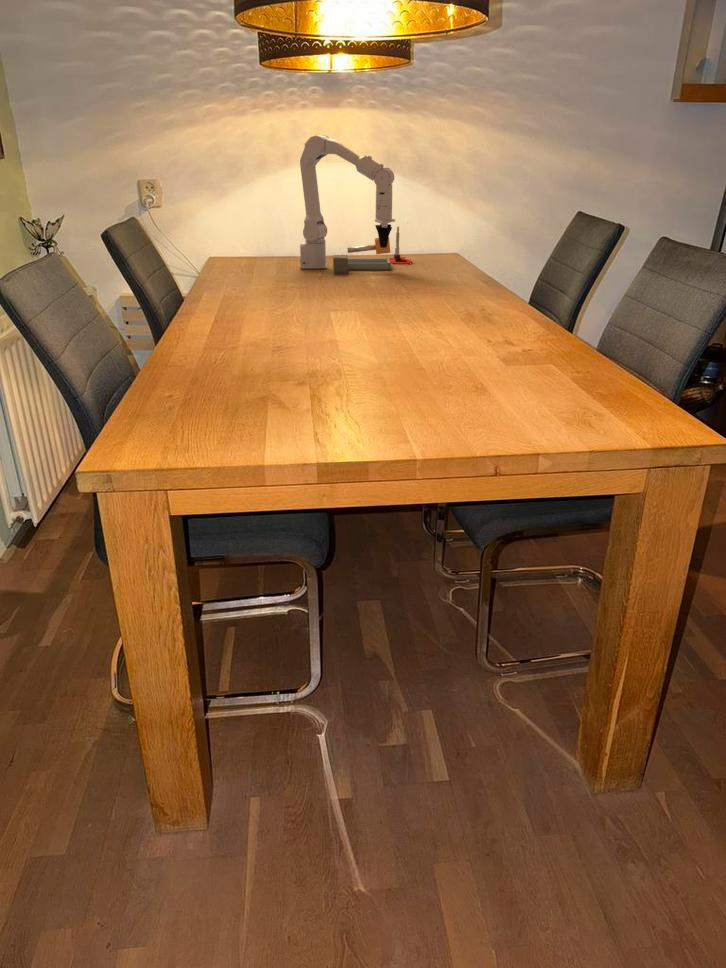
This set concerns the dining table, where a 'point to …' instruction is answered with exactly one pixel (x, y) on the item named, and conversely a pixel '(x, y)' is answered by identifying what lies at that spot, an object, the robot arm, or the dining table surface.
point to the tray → (369, 264)
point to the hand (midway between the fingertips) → (383, 246)
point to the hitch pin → (371, 248)
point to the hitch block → (340, 264)
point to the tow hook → (396, 255)
